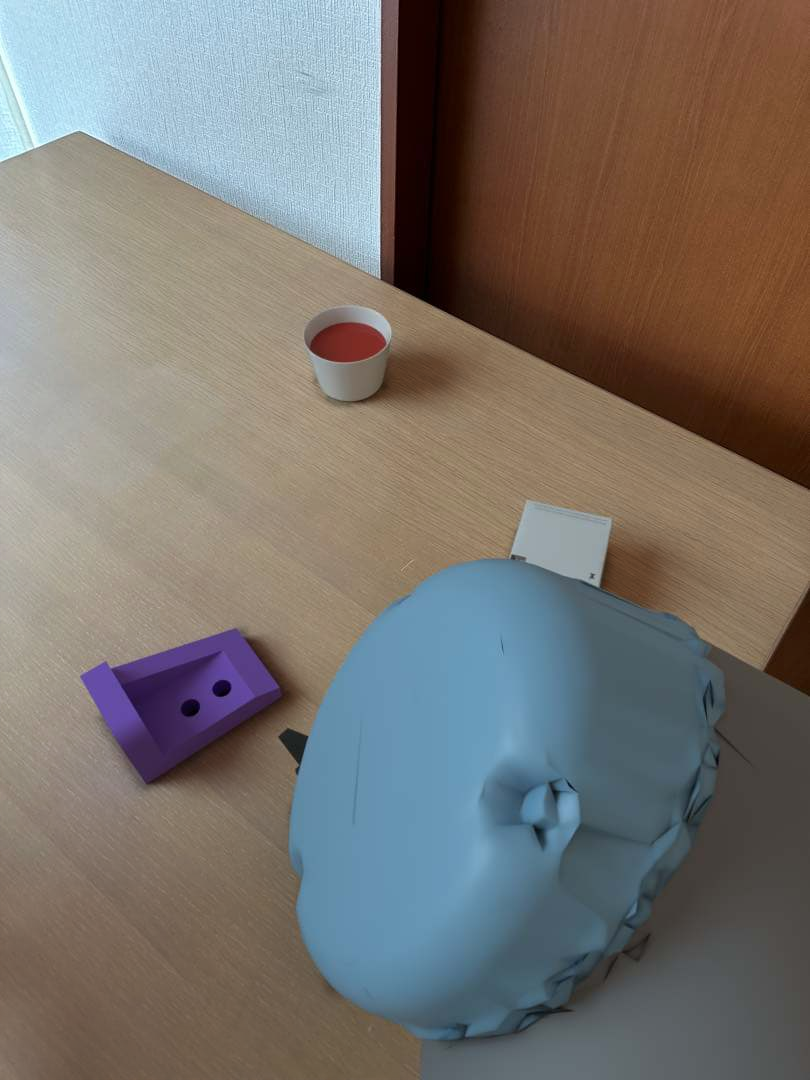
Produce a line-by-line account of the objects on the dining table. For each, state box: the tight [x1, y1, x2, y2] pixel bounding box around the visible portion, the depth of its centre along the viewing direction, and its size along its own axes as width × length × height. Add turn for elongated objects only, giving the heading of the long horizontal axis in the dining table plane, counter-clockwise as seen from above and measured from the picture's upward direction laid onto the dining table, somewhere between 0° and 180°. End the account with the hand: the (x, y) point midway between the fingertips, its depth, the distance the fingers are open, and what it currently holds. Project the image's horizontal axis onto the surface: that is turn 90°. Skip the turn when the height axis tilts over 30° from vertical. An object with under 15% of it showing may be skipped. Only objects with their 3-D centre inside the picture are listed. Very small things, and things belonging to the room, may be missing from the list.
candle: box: [302, 304, 393, 402], centre depth 86 cm, size 9×9×6 cm
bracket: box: [79, 627, 283, 785], centre depth 64 cm, size 12×7×7 cm, turn 127°
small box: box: [508, 499, 614, 588], centre depth 71 cm, size 8×8×5 cm
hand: (329, 719), depth 49 cm, fingers closed on beverage can, 4 cm apart
